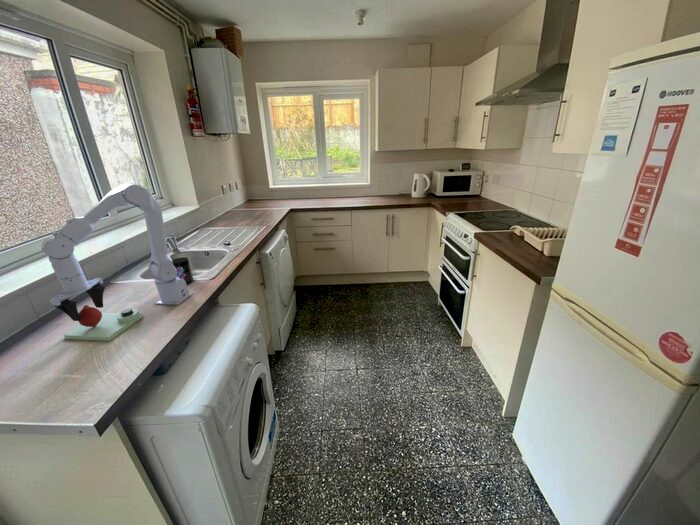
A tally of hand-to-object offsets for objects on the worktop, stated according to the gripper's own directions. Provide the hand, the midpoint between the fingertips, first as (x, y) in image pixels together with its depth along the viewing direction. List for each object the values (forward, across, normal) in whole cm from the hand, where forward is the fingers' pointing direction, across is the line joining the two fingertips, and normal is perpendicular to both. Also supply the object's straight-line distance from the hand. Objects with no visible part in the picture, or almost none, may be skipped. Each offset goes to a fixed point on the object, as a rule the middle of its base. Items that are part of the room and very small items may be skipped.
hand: (89, 313), depth 92 cm
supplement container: (+7, -35, +7) cm, 37 cm away
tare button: (+4, -5, +7) cm, 10 cm away
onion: (+5, 0, 0) cm, 5 cm away
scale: (+6, -1, +2) cm, 7 cm away
